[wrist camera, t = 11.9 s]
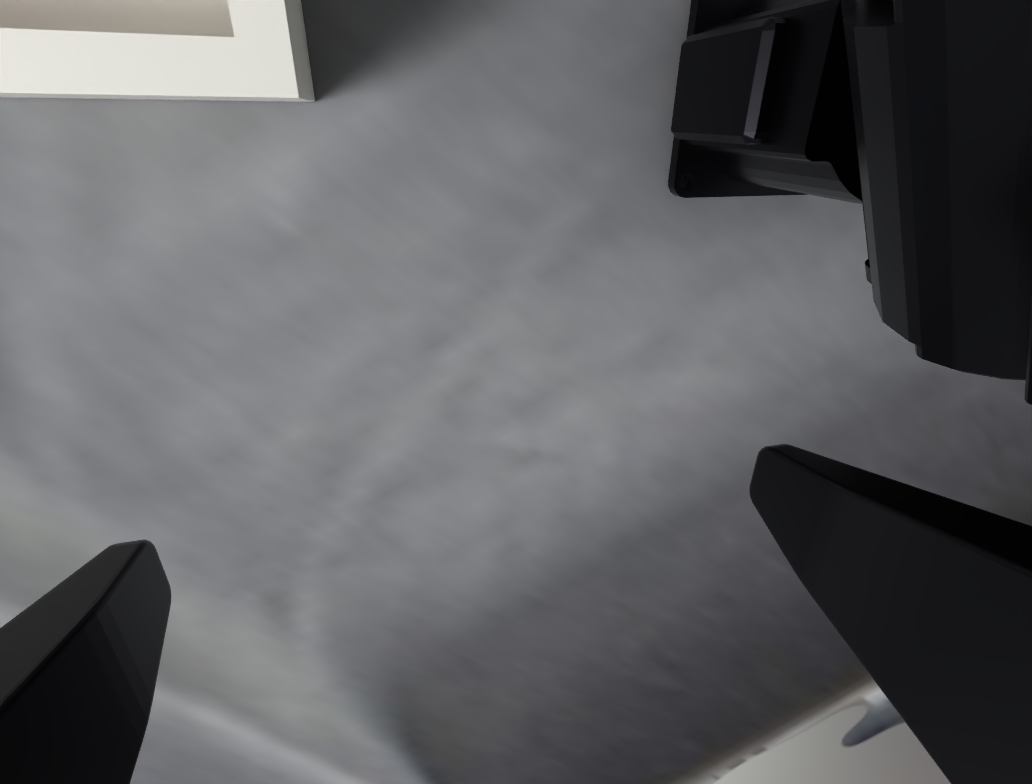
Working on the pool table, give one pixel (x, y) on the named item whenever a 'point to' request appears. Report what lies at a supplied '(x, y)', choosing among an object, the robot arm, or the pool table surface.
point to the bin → (155, 50)
